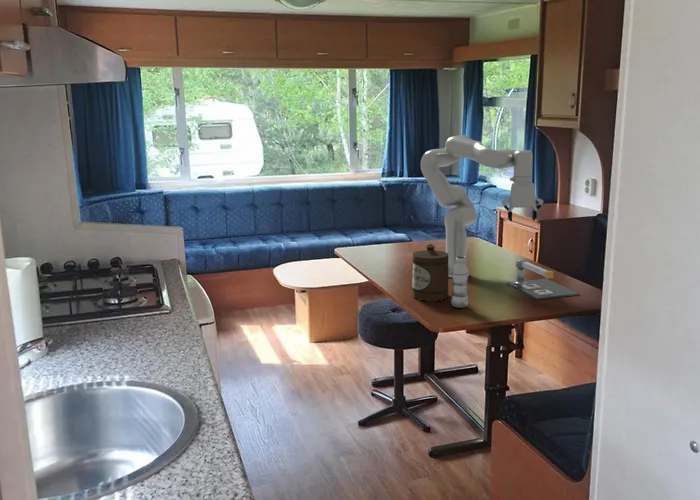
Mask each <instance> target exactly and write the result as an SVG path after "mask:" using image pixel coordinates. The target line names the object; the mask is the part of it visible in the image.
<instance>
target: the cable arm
mask: <svg viewBox="0 0 700 500" xmlns="http://www.w3.org/2000/svg"><path fill="white" fill-rule="evenodd" d="M515 267H516V268H525V269H527V270H528V271H529V270H530V271H531V272H534V273H536V274H538V275H541V276H543V277H544V279H548V280H551V279H554V273H555V271H553V270H547V269H545V268H542V267H540V266H538V265H535V264H534V263H533V264H532V263H531V262H528V261H527V259H525V258H516V259H515Z"/></svg>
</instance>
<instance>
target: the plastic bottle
mask: <svg viewBox="0 0 700 500" xmlns="http://www.w3.org/2000/svg"><path fill="white" fill-rule="evenodd" d="M465 259H466V261H465ZM455 262H456V264H455V265H454V266H453V268H452V291H451V292H452V294H451V299H450V302H451V305H452V307H455V308H458V309H462V308H467V306H468V304H469V297H468V278H469V276H468V273H469V274H470V271H469V267H468V266H467V264H466V265H465V262H466V263H467V257H466V258H465V257H462V256H458V257H456V261H455Z"/></svg>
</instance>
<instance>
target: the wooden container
mask: <svg viewBox="0 0 700 500" xmlns="http://www.w3.org/2000/svg"><path fill="white" fill-rule="evenodd" d="M425 248H426V250H425V249H424V250H417V251H415V252H413V253H412V278H411V280H412V281H411V284H412V285H411V287H412V289H411V290H412V295H413V296H412V298H414V299H415V298H417V299H416V300H418V299H420V300H419V301H422V300H426V301H425V302H439V301H438V300H441V301H443V299H445V300H447V299H448V298H449V277H448V253H446V251H442V250H435V249H436V246H435V245H433V244H432V243H429V244H427V245H426V247H425ZM447 297H448V298H447ZM446 298H447V299H446Z"/></svg>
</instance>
